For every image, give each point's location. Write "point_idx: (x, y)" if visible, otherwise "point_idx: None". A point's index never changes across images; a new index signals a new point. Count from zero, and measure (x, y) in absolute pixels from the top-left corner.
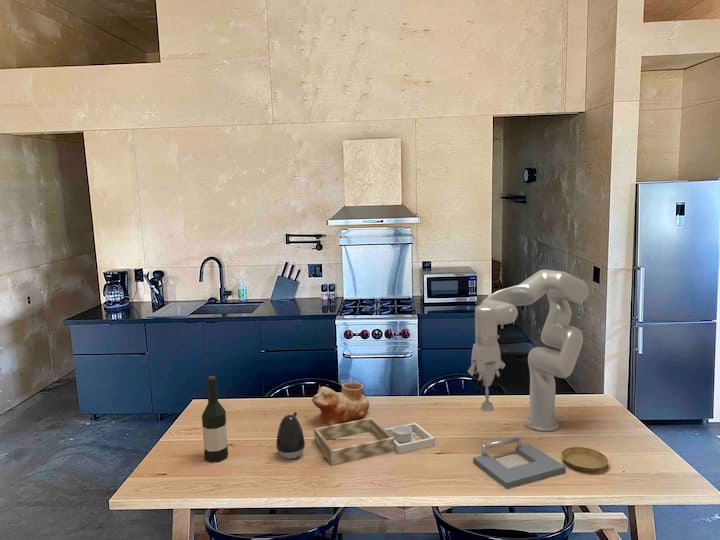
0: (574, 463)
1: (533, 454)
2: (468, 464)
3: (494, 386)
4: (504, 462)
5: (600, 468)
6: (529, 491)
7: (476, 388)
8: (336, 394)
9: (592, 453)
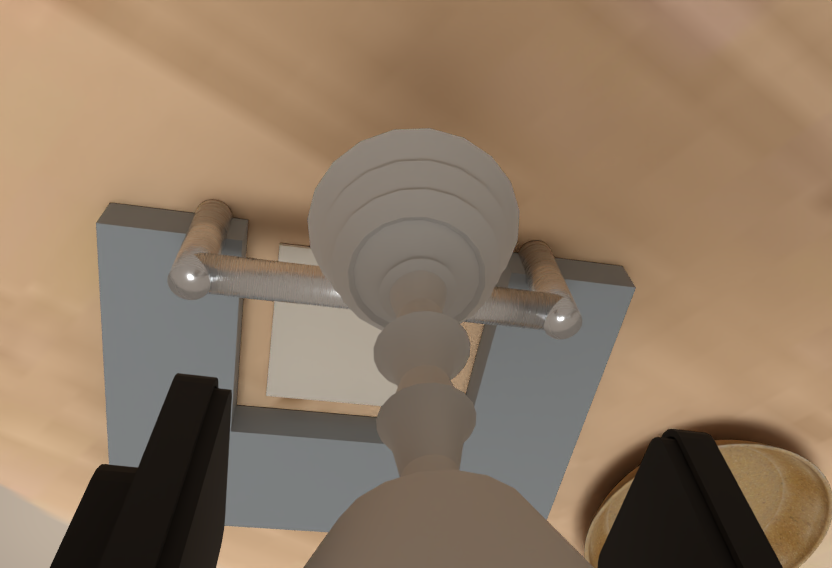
0: None
1: (517, 395)
2: (62, 200)
3: (613, 526)
4: (318, 314)
5: None
6: (221, 544)
7: (177, 385)
8: None
9: (808, 502)
